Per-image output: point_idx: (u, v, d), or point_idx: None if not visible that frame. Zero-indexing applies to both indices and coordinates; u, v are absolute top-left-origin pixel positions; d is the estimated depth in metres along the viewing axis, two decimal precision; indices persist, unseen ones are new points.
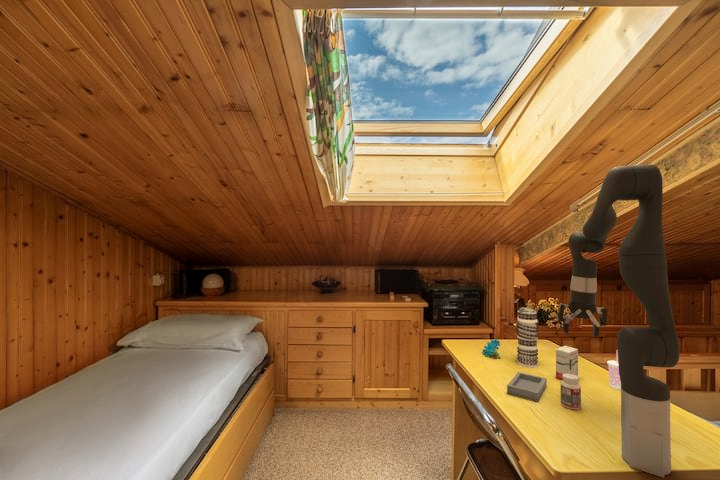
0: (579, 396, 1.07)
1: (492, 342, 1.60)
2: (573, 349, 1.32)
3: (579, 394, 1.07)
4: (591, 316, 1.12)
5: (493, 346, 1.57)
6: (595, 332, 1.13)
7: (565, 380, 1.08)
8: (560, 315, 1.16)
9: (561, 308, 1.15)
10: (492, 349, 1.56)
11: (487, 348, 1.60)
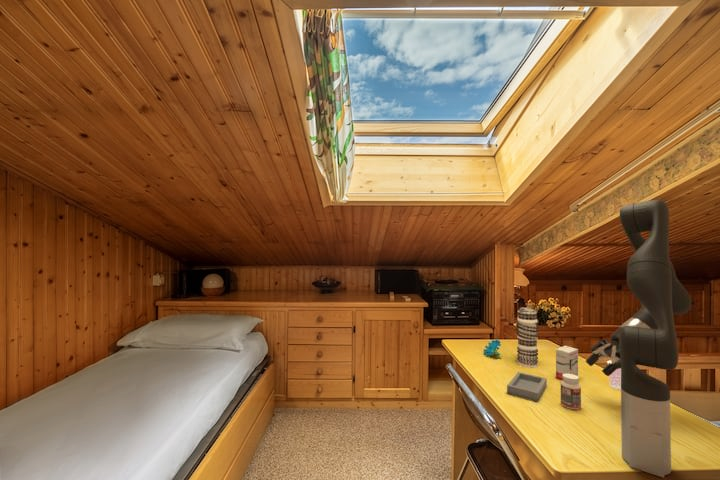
0: (579, 396, 1.07)
1: (493, 342, 1.60)
2: (573, 349, 1.32)
3: (579, 394, 1.07)
4: (613, 352, 1.06)
5: (494, 346, 1.57)
6: (606, 367, 1.05)
7: (565, 380, 1.08)
8: (594, 346, 1.15)
9: (600, 341, 1.15)
10: (492, 349, 1.56)
11: (488, 348, 1.60)
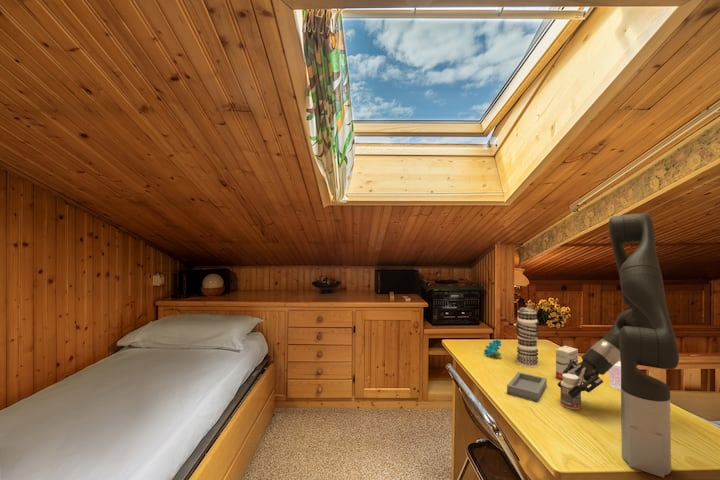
0: (579, 396, 1.07)
1: (494, 342, 1.60)
2: (573, 349, 1.32)
3: (579, 394, 1.07)
4: (581, 374, 1.07)
5: (494, 346, 1.57)
6: (571, 389, 1.06)
7: (565, 380, 1.08)
8: (566, 369, 1.15)
9: (570, 363, 1.15)
10: (493, 349, 1.56)
11: (488, 348, 1.60)
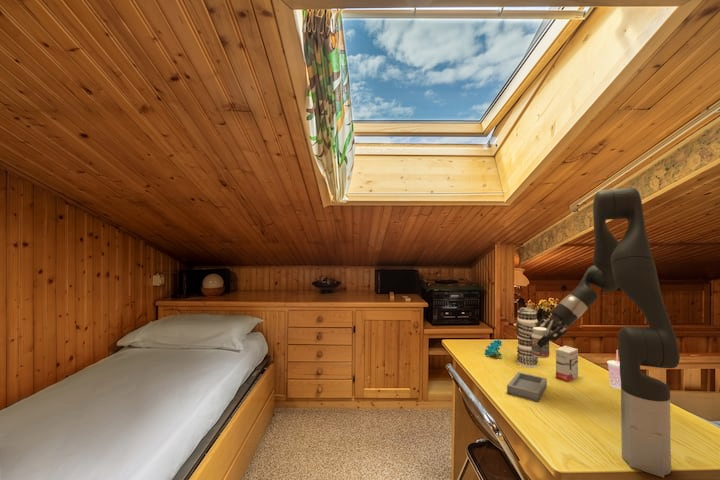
0: (547, 346, 1.16)
1: (494, 342, 1.60)
2: (573, 349, 1.32)
3: (547, 344, 1.16)
4: (549, 325, 1.16)
5: (495, 346, 1.57)
6: (540, 339, 1.15)
7: (535, 332, 1.17)
8: (537, 324, 1.24)
9: (542, 319, 1.24)
10: (493, 349, 1.56)
11: (489, 348, 1.60)
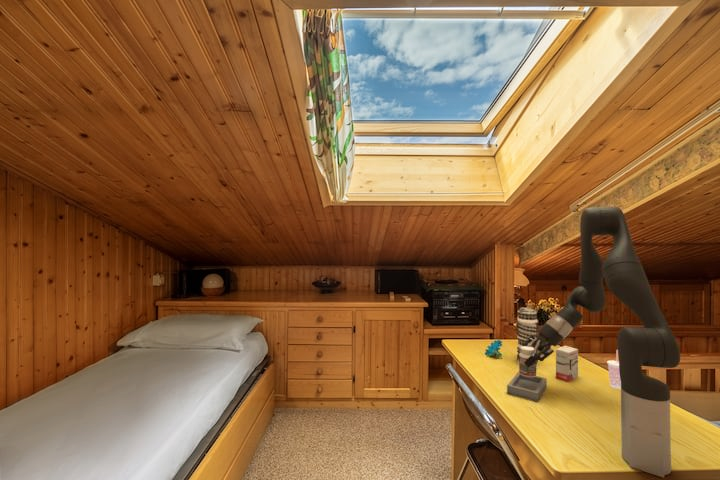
0: (534, 365, 1.19)
1: (495, 342, 1.60)
2: (573, 349, 1.32)
3: (534, 364, 1.19)
4: (536, 345, 1.19)
5: (495, 346, 1.57)
6: (527, 359, 1.18)
7: (523, 351, 1.20)
8: (525, 342, 1.27)
9: (529, 338, 1.27)
10: (494, 349, 1.56)
11: (489, 348, 1.60)
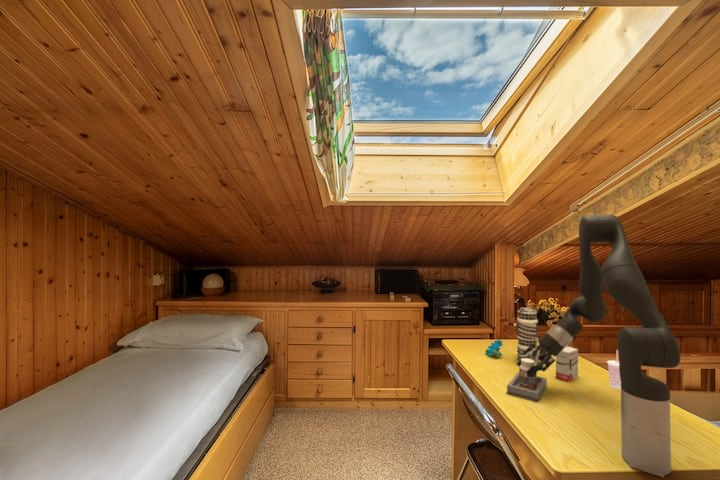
0: (535, 378, 1.19)
1: (495, 342, 1.60)
2: (573, 349, 1.32)
3: (535, 376, 1.19)
4: (537, 355, 1.19)
5: (495, 346, 1.57)
6: (529, 369, 1.17)
7: (523, 363, 1.20)
8: (525, 350, 1.28)
9: (530, 346, 1.27)
10: (494, 349, 1.56)
11: (490, 348, 1.60)
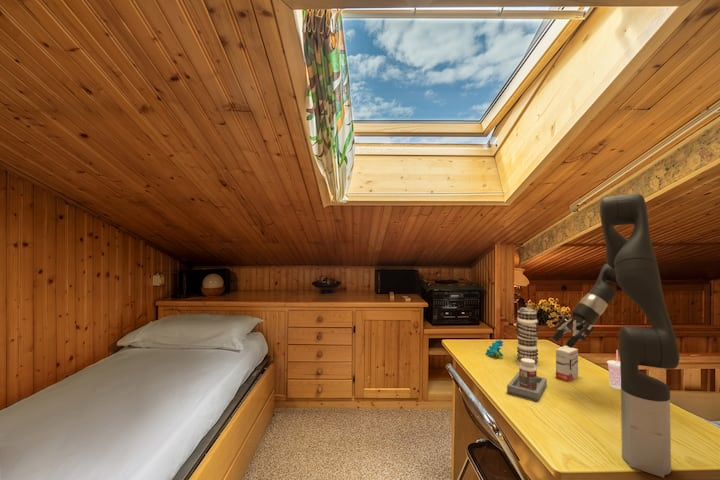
0: (535, 378, 1.19)
1: (496, 342, 1.60)
2: (573, 349, 1.32)
3: (535, 376, 1.19)
4: (574, 325, 1.16)
5: (496, 346, 1.57)
6: (568, 340, 1.14)
7: (523, 363, 1.20)
8: (559, 323, 1.25)
9: (563, 318, 1.25)
10: (494, 349, 1.56)
11: (490, 348, 1.60)
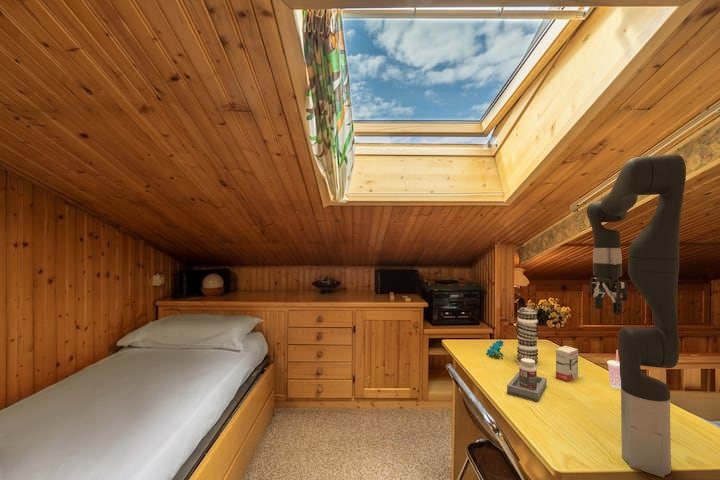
0: (535, 378, 1.19)
1: (497, 343, 1.60)
2: (573, 349, 1.32)
3: (535, 376, 1.19)
4: (607, 290, 1.04)
5: (496, 346, 1.57)
6: (613, 308, 1.02)
7: (523, 363, 1.20)
8: (590, 288, 1.13)
9: (590, 281, 1.13)
10: (495, 349, 1.56)
11: (491, 348, 1.60)
